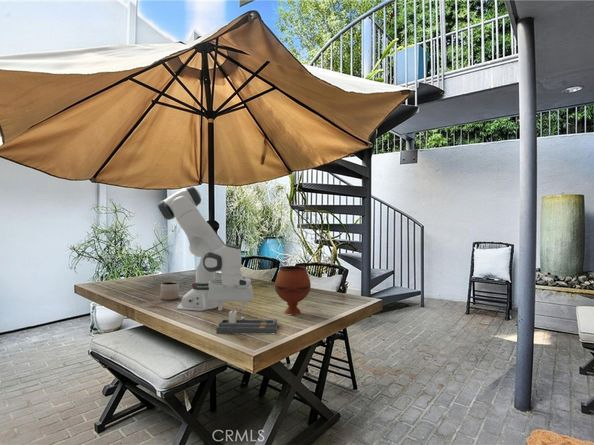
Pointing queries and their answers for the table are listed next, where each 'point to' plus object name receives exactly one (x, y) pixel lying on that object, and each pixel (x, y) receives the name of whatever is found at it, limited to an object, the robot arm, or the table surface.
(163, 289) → the planter
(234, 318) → the fader cap
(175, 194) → the robot arm
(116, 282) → the table surface
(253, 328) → the console
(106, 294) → the table surface
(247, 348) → the table surface
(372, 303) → the table surface
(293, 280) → the terracotta clay pot
